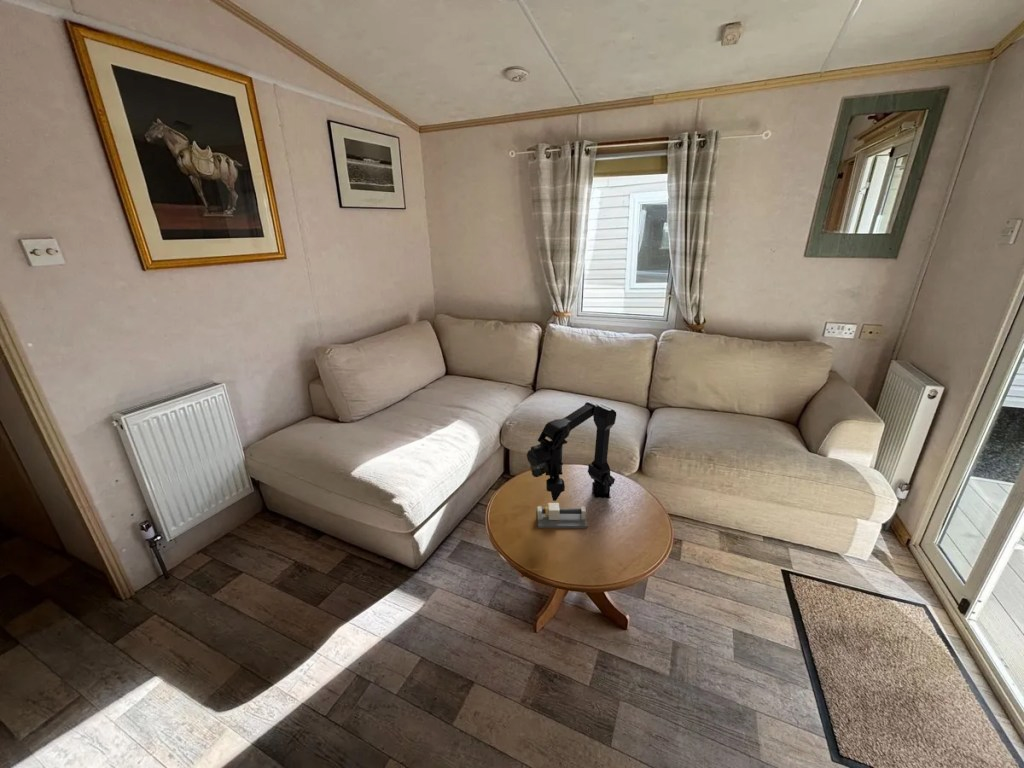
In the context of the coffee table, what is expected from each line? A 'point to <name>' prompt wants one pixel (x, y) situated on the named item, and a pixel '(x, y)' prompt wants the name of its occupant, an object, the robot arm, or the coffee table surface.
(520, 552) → the coffee table surface
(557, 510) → the sleeve
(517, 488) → the coffee table surface
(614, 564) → the coffee table surface
